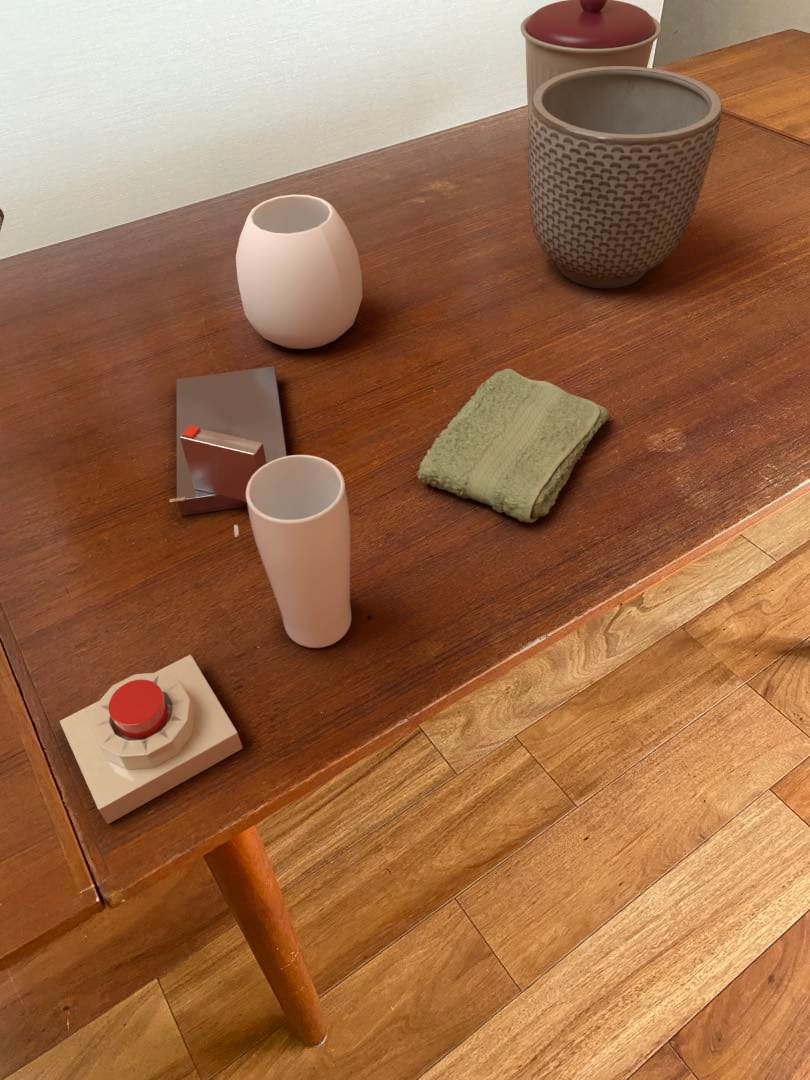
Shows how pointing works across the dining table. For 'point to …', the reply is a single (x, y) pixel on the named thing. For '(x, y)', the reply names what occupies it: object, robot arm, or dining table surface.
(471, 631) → the dining table surface
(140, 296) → the dining table surface
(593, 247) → the planter
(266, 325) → the cup
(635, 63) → the canister
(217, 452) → the spout
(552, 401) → the washcloth
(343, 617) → the drinking glass
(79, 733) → the button block
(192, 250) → the dining table surface
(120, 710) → the button
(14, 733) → the dining table surface
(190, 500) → the base
